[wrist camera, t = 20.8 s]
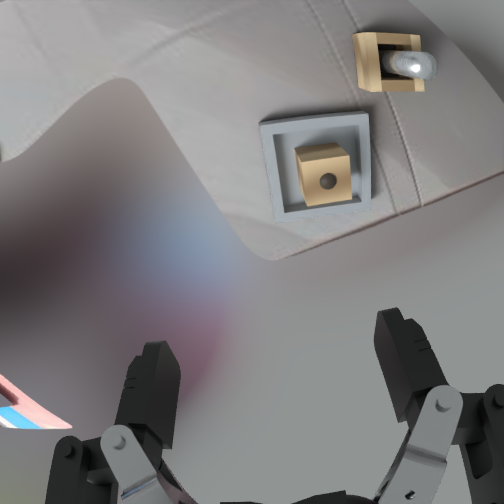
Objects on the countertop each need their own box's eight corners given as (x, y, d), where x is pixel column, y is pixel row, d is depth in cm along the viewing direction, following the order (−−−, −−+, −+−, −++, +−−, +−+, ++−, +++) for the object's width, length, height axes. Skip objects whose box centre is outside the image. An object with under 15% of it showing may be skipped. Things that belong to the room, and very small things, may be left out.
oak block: (352, 34, 28) (364, 32, 24) (403, 35, 27) (419, 35, 24) (358, 87, 31) (371, 91, 28) (407, 86, 31) (424, 91, 27)
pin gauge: (369, 50, 29) (411, 51, 20) (390, 50, 28) (436, 52, 20) (372, 71, 30) (414, 79, 22) (392, 71, 30) (438, 80, 22)
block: (294, 148, 35) (301, 162, 31) (336, 142, 35) (349, 155, 30) (299, 187, 38) (307, 206, 34) (340, 181, 37) (352, 199, 33)
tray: (258, 122, 34) (259, 125, 32) (362, 110, 33) (368, 113, 31) (274, 215, 40) (275, 223, 39) (365, 202, 39) (370, 209, 38)
